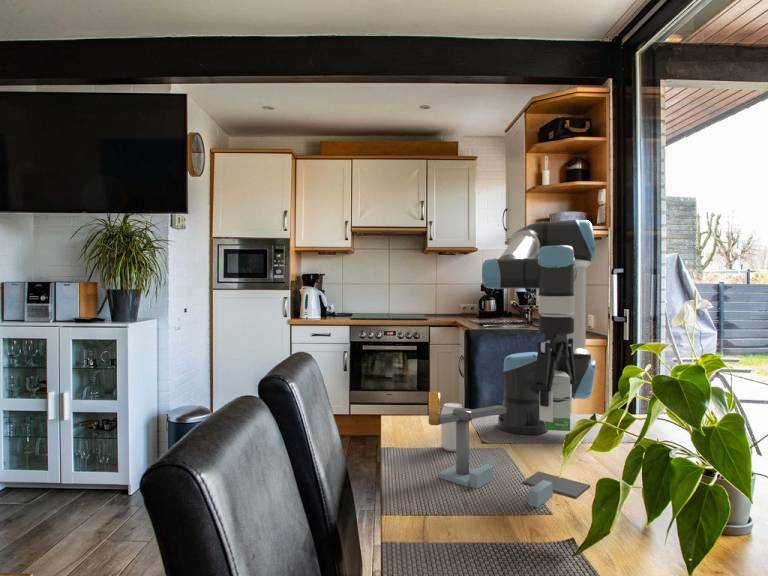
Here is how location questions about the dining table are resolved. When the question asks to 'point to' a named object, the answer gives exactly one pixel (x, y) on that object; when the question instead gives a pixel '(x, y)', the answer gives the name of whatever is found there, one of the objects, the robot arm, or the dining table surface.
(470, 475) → the stand
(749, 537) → the dining table surface
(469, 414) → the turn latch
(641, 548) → the dining table surface
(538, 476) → the pad
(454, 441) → the beverage can
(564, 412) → the ink box
